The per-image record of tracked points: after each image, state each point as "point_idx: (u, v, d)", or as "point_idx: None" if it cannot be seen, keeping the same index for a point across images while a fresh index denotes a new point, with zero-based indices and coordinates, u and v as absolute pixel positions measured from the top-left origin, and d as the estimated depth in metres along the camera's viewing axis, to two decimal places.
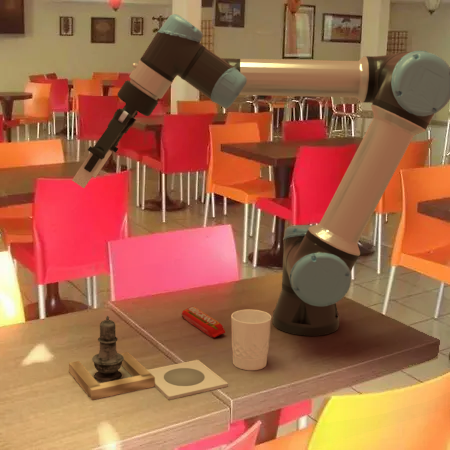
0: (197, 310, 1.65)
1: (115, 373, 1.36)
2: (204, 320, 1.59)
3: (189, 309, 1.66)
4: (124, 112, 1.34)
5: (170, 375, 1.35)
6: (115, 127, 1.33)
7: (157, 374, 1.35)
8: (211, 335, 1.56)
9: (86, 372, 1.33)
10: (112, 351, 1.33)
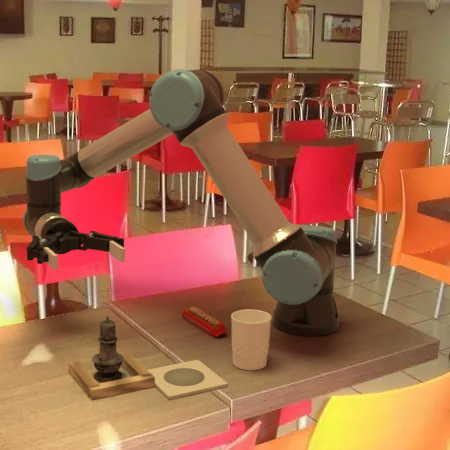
0: (198, 310, 1.65)
1: (115, 373, 1.36)
2: (206, 319, 1.59)
3: (189, 308, 1.66)
4: None
5: (170, 375, 1.35)
6: None
7: (157, 374, 1.35)
8: (213, 335, 1.56)
9: (86, 372, 1.33)
10: (112, 351, 1.33)
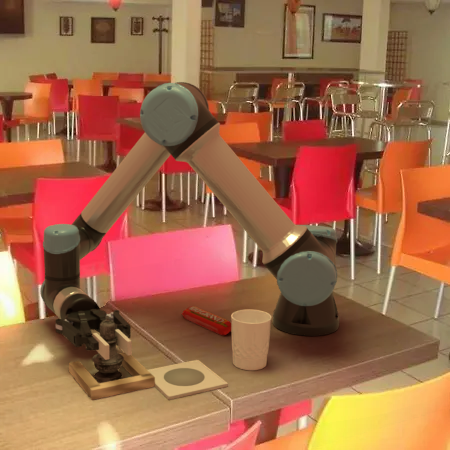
0: (199, 309, 1.65)
1: (115, 373, 1.36)
2: (211, 318, 1.60)
3: (190, 308, 1.66)
4: None
5: (170, 375, 1.35)
6: (64, 330, 1.38)
7: (157, 374, 1.35)
8: (221, 333, 1.57)
9: (86, 372, 1.33)
10: (112, 351, 1.33)
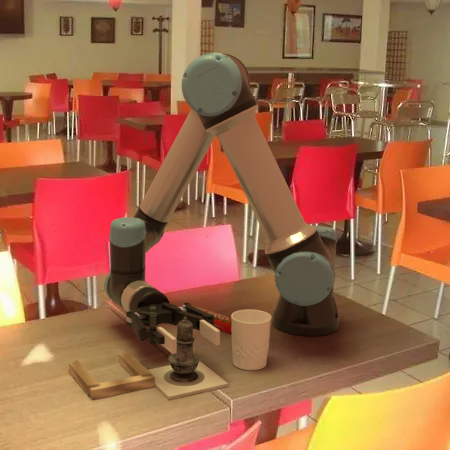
0: (200, 308, 1.66)
1: (191, 373, 1.35)
2: (215, 317, 1.61)
3: None
4: (126, 319, 1.40)
5: None
6: (132, 323, 1.37)
7: (157, 374, 1.35)
8: (228, 331, 1.58)
9: (86, 372, 1.33)
10: (190, 352, 1.32)
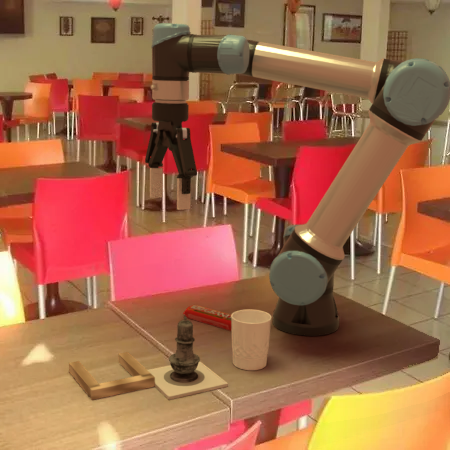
0: (202, 307, 1.66)
1: (191, 373, 1.35)
2: (219, 315, 1.62)
3: (192, 307, 1.67)
4: (183, 129, 1.43)
5: None
6: (186, 145, 1.43)
7: (157, 374, 1.35)
8: None
9: (86, 372, 1.33)
10: (189, 352, 1.32)
